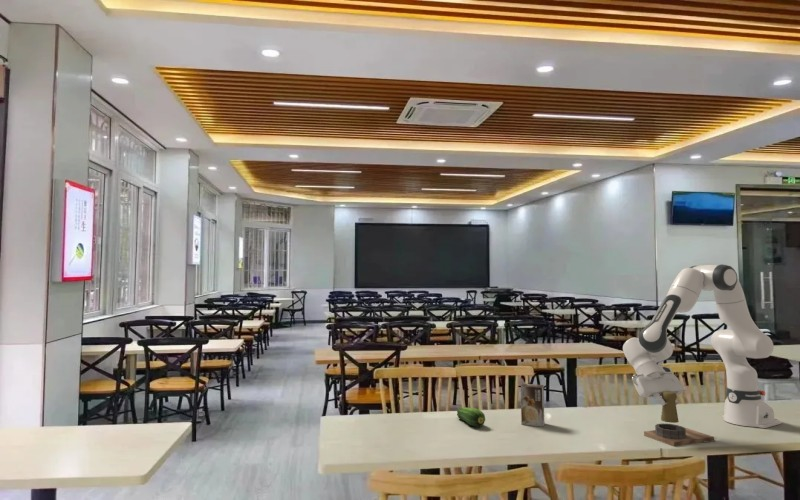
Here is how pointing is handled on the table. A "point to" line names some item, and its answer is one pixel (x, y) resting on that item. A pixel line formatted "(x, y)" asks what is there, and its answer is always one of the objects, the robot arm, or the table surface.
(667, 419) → the cork
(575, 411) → the table surface
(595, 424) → the table surface
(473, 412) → the vegetable
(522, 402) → the coffee box
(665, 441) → the caddy board
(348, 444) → the table surface
